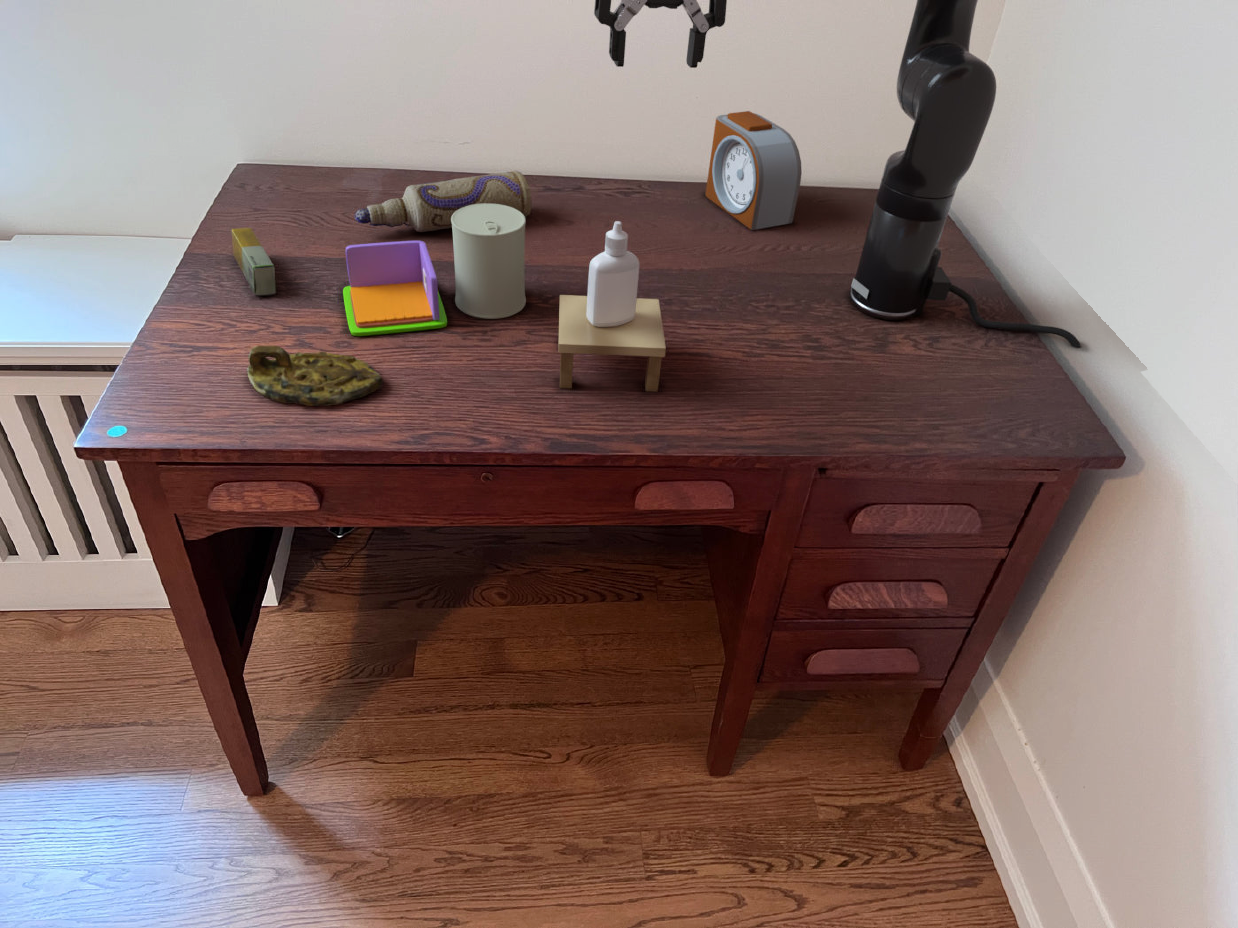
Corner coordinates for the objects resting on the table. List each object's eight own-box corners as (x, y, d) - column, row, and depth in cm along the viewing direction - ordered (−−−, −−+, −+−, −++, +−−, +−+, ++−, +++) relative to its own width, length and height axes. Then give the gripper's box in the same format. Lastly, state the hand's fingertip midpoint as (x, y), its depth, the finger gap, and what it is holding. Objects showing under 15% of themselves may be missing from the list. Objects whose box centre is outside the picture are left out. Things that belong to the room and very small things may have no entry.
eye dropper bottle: (633, 331, 101) (643, 233, 93) (584, 327, 101) (590, 229, 93) (635, 312, 104) (644, 216, 97) (587, 308, 104) (593, 211, 97)
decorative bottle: (515, 204, 140) (515, 162, 135) (533, 224, 135) (533, 182, 130) (350, 225, 130) (344, 181, 126) (363, 248, 125) (357, 203, 121)
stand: (653, 342, 111) (658, 299, 107) (660, 393, 103) (666, 348, 99) (558, 338, 110) (559, 294, 106) (556, 389, 102) (558, 343, 98)
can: (460, 322, 112) (455, 233, 104) (450, 286, 118) (445, 201, 111) (532, 316, 114) (532, 229, 106) (518, 282, 121) (518, 197, 113)
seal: (391, 370, 104) (260, 364, 103) (388, 334, 102) (254, 327, 100) (377, 410, 96) (235, 404, 95) (373, 372, 94) (227, 365, 93)
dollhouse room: (434, 282, 119) (431, 234, 115) (449, 328, 110) (446, 278, 106) (341, 290, 116) (335, 241, 111) (350, 338, 107) (343, 287, 103)
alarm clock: (699, 193, 148) (710, 111, 140) (741, 187, 152) (754, 106, 143) (749, 230, 138) (764, 144, 130) (792, 222, 142) (810, 138, 133)
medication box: (277, 295, 114) (275, 266, 111) (255, 297, 112) (253, 268, 110) (253, 253, 121) (250, 225, 119) (232, 255, 120) (229, 227, 117)
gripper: (609, -100, 85) (600, 75, 96) (749, -94, 88) (725, 76, 99) (595, -112, 91) (587, 55, 101) (726, -106, 94) (706, 56, 104)
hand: (655, 65), depth 100 cm, fingers open, 8 cm apart
